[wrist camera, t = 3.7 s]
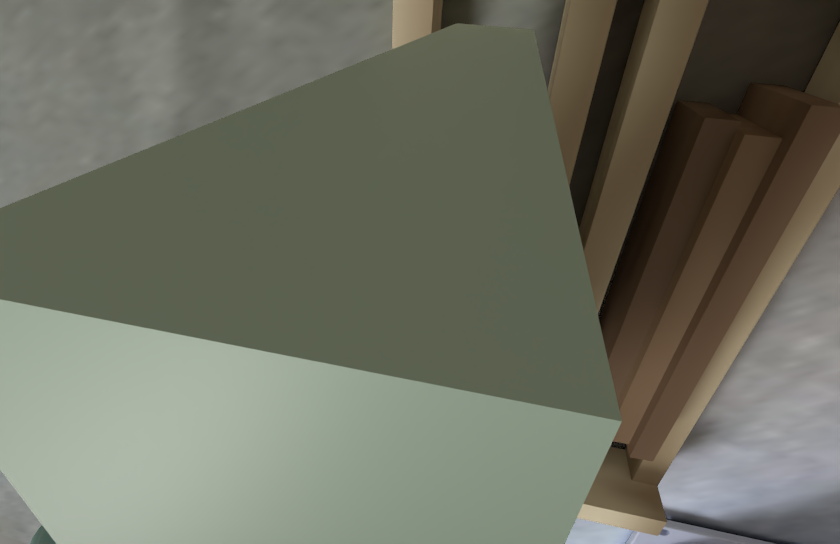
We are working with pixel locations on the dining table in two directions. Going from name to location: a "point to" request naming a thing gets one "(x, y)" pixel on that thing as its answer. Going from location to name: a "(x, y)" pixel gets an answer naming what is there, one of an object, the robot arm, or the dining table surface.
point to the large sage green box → (315, 320)
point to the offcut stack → (704, 245)
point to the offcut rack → (621, 187)
